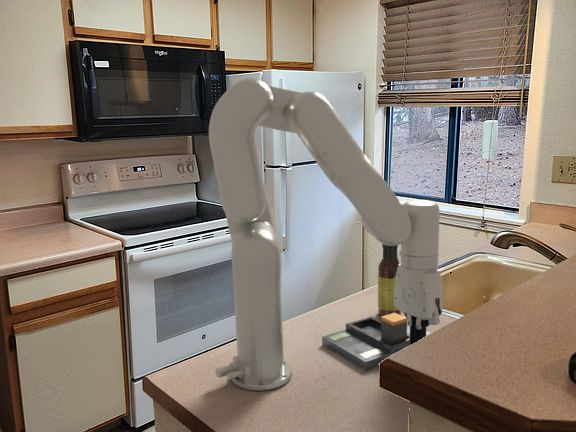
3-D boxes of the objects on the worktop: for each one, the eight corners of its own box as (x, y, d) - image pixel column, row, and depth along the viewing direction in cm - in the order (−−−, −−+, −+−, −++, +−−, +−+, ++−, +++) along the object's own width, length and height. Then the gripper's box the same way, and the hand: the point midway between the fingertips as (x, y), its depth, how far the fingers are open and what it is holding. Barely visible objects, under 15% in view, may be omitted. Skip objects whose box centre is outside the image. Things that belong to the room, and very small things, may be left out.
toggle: (393, 347, 116) (393, 322, 115) (381, 341, 119) (381, 316, 118) (406, 343, 118) (407, 318, 117) (394, 337, 122) (394, 312, 120)
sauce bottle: (401, 318, 138) (402, 244, 134) (377, 317, 139) (377, 244, 135) (401, 309, 144) (402, 238, 140) (378, 308, 145) (378, 238, 142)
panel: (365, 370, 111) (365, 355, 110) (322, 344, 124) (321, 330, 123) (439, 344, 122) (439, 330, 122) (392, 322, 135) (392, 310, 135)
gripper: (381, 256, 113) (380, 336, 117) (434, 272, 101) (431, 362, 104) (406, 250, 117) (405, 328, 120) (460, 265, 104) (457, 352, 108)
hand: (417, 343), depth 112 cm, fingers closed
